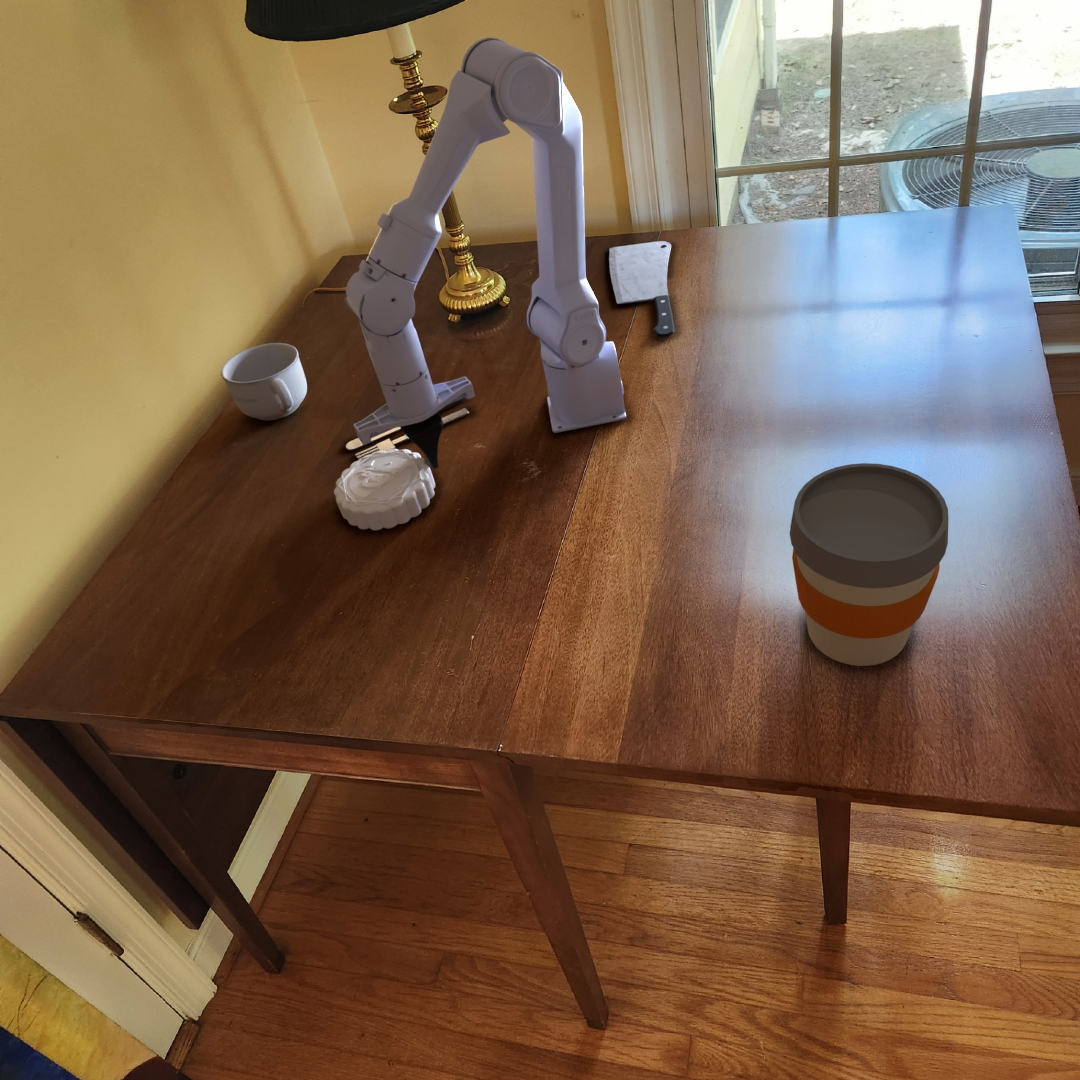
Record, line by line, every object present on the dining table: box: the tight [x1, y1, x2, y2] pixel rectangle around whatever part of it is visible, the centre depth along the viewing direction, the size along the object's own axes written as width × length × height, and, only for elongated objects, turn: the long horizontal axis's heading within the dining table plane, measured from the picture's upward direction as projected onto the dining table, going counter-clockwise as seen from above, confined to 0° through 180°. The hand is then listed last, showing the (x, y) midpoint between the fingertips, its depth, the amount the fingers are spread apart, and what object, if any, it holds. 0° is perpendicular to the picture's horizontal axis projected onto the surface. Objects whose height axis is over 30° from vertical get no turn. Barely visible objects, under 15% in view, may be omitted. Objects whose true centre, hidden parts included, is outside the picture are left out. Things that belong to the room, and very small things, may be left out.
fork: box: [354, 407, 470, 461], centre depth 119 cm, size 16×2×1 cm, turn 117°
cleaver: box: [608, 240, 676, 338], centre depth 136 cm, size 29×1×10 cm
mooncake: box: [333, 448, 436, 531], centre depth 109 cm, size 12×12×4 cm
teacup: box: [220, 342, 308, 421], centre depth 126 cm, size 14×11×8 cm
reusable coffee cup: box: [789, 462, 949, 667], centre depth 79 cm, size 13×13×15 cm
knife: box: [345, 398, 464, 452], centre depth 121 cm, size 17×2×1 cm, turn 117°
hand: (433, 464), depth 111 cm, fingers closed
